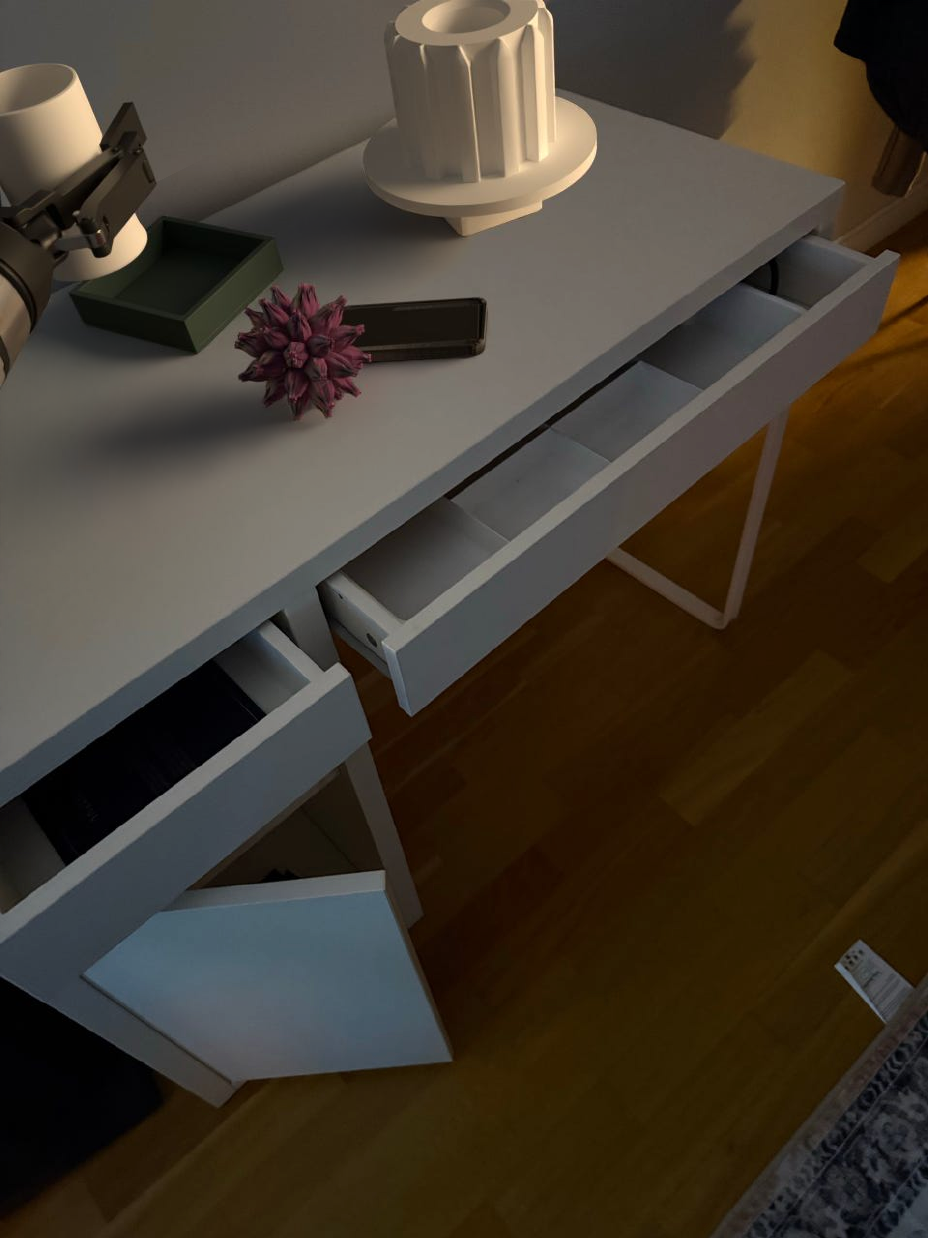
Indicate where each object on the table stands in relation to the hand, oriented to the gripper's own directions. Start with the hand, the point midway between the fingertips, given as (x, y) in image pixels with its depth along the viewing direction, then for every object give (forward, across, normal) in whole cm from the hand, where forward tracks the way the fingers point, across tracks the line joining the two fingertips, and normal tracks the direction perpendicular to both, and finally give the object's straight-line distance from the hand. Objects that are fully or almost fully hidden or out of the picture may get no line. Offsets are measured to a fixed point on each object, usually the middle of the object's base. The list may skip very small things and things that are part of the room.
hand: (81, 125), depth 69 cm
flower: (-5, +14, -24) cm, 28 cm away
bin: (+14, -4, -24) cm, 28 cm away
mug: (-5, 0, -7) cm, 8 cm away
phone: (+4, +22, -24) cm, 32 cm away
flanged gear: (+28, +28, -24) cm, 46 cm away
